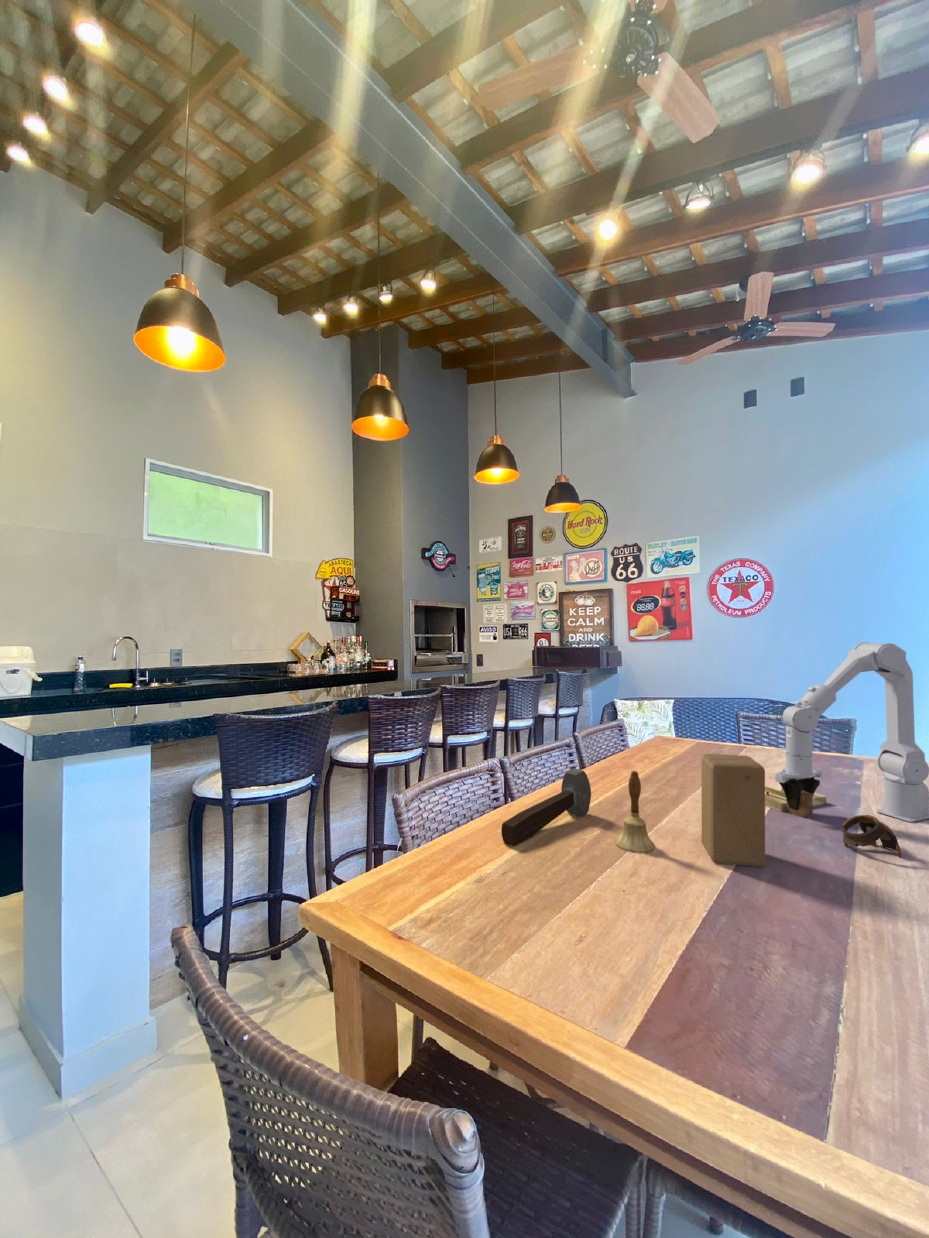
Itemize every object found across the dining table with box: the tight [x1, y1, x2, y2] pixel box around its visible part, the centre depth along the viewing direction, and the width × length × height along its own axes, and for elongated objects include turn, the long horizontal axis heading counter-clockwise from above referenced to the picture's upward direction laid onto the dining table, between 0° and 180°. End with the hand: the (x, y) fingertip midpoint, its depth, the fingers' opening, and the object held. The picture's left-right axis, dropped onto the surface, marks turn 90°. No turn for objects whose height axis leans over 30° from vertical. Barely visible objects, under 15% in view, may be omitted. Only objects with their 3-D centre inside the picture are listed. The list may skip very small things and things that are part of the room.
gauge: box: [765, 786, 814, 818], centre depth 140 cm, size 4×12×6 cm, turn 22°
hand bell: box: [614, 770, 656, 853], centre depth 117 cm, size 8×8×16 cm
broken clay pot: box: [841, 814, 903, 859], centre depth 115 cm, size 12×10×8 cm
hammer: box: [500, 768, 592, 847], centre depth 126 cm, size 5×11×30 cm
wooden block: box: [701, 753, 766, 868], centre depth 111 cm, size 10×10×20 cm
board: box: [765, 792, 827, 813], centre depth 144 cm, size 17×7×2 cm, turn 112°
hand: (799, 807), depth 136 cm, fingers closed on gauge, 3 cm apart
